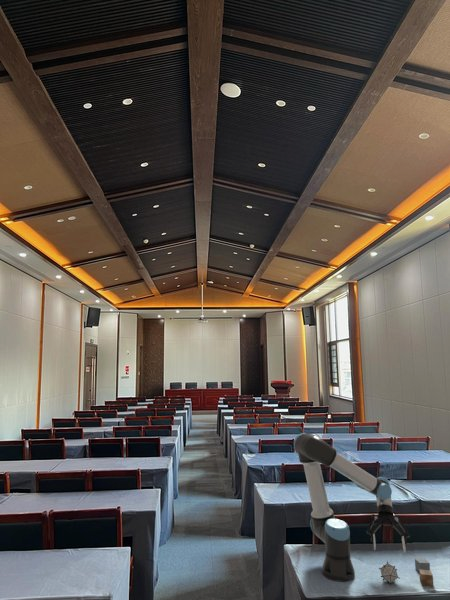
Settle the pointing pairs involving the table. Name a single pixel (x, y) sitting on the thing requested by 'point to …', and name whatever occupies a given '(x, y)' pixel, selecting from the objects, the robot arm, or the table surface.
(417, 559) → the slate block
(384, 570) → the spiky ball
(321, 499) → the robot arm
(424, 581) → the walnut block
